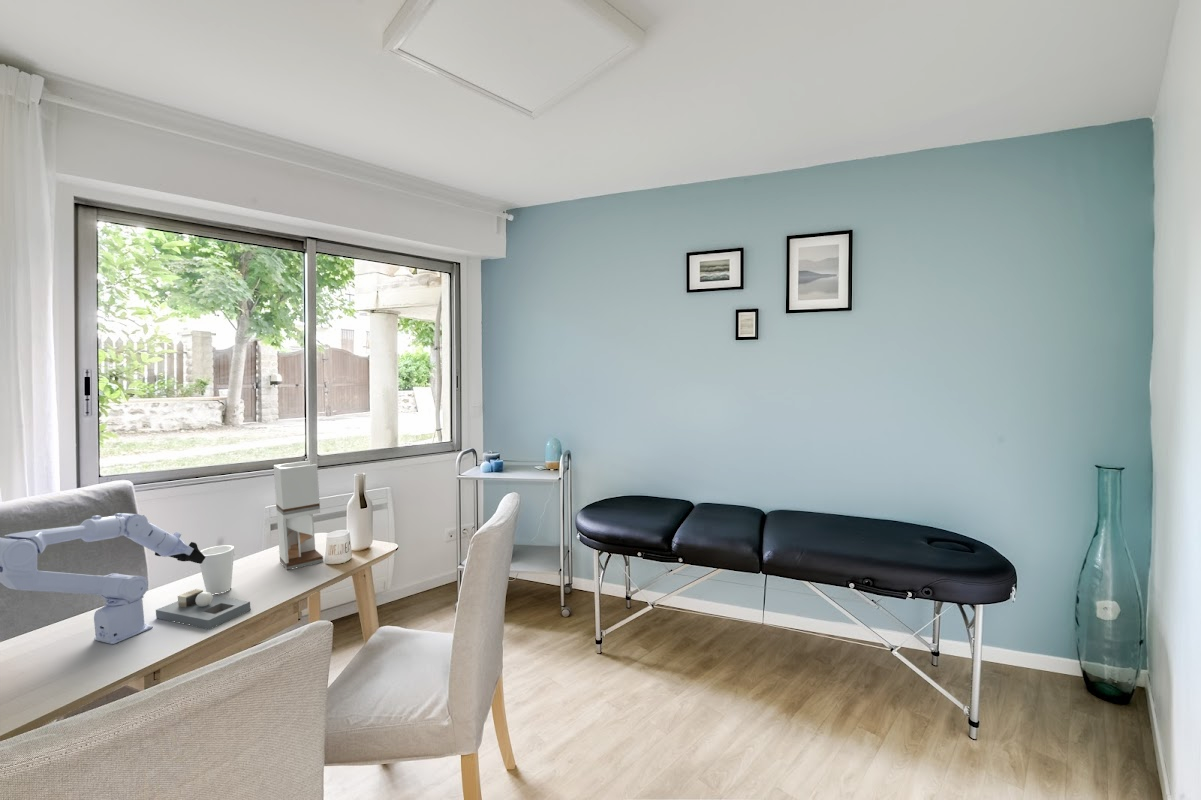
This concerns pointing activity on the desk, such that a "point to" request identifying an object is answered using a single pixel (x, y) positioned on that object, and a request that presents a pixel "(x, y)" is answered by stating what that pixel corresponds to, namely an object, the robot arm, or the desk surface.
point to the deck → (204, 612)
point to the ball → (204, 599)
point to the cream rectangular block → (188, 598)
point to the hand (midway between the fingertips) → (193, 558)
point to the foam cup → (217, 568)
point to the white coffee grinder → (297, 513)
